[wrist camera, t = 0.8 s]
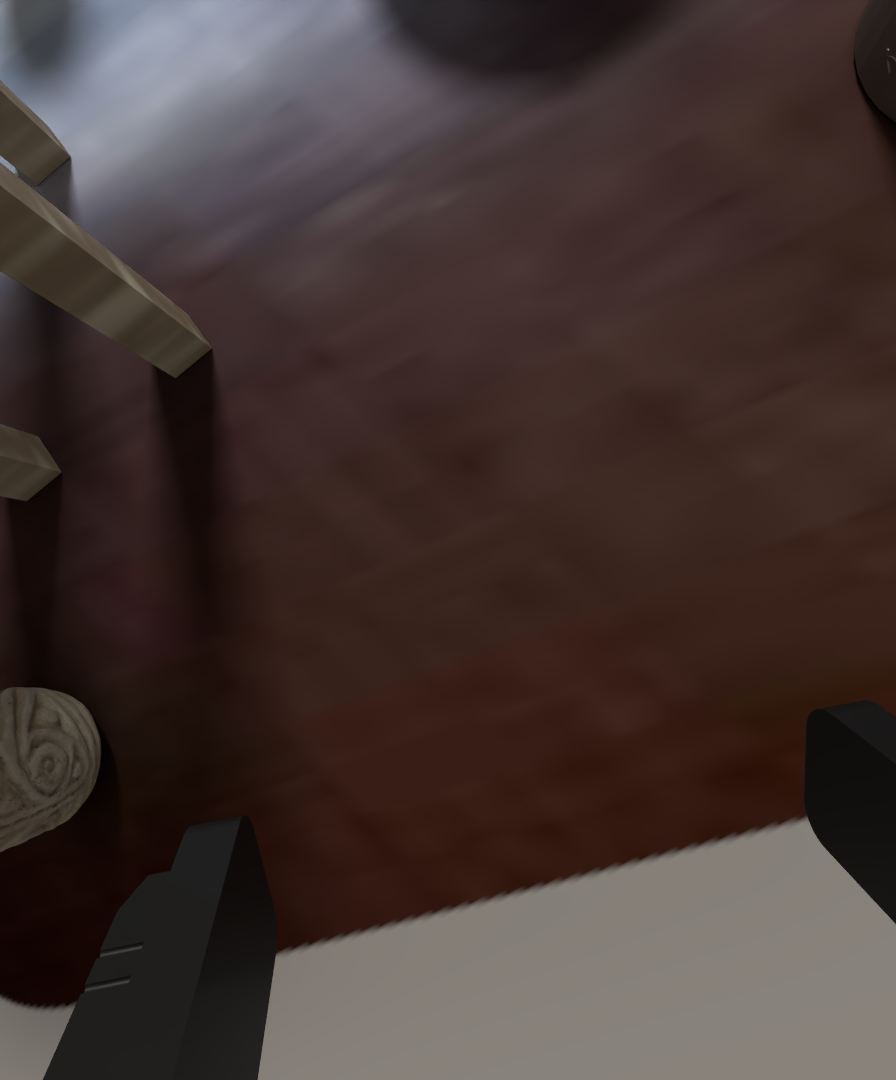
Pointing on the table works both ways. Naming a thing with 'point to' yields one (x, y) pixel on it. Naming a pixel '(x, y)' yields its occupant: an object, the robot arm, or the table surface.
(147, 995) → the robot arm
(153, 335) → the stool
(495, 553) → the table surface
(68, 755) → the carving
